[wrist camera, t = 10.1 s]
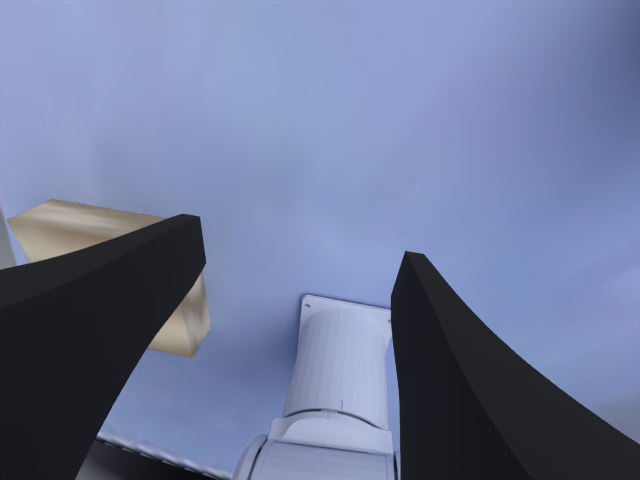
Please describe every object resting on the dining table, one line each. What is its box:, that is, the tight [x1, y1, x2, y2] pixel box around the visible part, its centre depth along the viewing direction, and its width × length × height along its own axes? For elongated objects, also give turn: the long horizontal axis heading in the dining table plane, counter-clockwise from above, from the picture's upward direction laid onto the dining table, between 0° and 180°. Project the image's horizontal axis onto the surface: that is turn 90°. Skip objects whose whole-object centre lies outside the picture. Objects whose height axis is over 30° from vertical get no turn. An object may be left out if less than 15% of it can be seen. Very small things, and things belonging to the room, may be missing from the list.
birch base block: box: [7, 199, 211, 358], centre depth 25 cm, size 12×12×4 cm
